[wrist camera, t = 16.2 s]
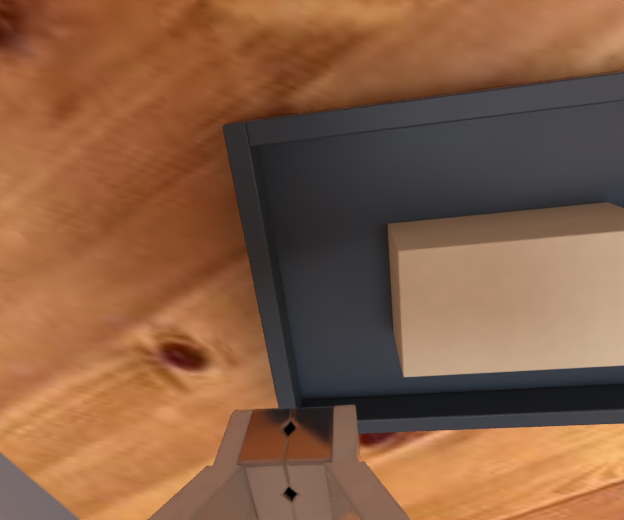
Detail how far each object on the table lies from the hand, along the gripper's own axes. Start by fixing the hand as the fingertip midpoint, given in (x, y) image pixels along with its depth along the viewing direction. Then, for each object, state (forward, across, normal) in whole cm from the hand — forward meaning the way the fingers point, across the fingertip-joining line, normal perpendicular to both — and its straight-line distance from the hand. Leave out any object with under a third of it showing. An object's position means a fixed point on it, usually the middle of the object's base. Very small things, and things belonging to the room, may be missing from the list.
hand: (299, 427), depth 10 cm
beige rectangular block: (+8, -7, 0) cm, 10 cm away
